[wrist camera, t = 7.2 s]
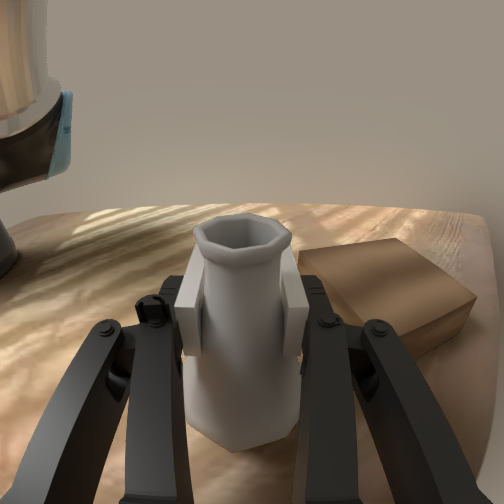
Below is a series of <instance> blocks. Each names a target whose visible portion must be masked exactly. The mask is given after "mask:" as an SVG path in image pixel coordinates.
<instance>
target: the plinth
mask: <svg viewBox="0 0 504 504" xmlns="http://www.w3.org/2000/svg"><path fill="white" fill-rule="evenodd" d="M298 271H299V274H300V275H316V276H317V277H318V278H319V279H320V280H321V281H322V284H323V286H324V289H325V291H326V294H327V296H328V299H329V301H330V304H331V306H332V309H333V311H334V313H336V314H338V315H339V316H340V317H341V318H342V319H343V321H344V323H346V324H349V325H353V326H360V327H364V324H365V323H366V322H367V321H368V320H371V319H380V320H384V321H386V322H387V323H389V324H390V325H391V326H392V327H393V328H394V330H395V332H396V333H397V335H398V336H399V338H400V339H401V341H402V343H403V344H404V346H405V347H406V349H407V351H408V352H409V354H410V355H411V357H412V359H413V360H414V359H415V358H417V357H419V356H421V355H423V354H425V353H426V352H428V351H430V350H432V349H433V348H435V347H437V346H439V345H440V344H442V343H444V342H445V341H447V340H448V339H450V338H452V337H453V336H455V335H456V334H458V333H459V332H460V331H461V329H462V327H463V325H464V323H465V321H466V319H467V317H468V315H469V313H470V311H471V309H472V307H473V305H474V303H475V301H476V298H477V296H476V295H474V294H473V293H472V292H471V291H469V290H468V289H467V288H466V287H464V286H463V285H462V284H460V283H459V282H458V281H456V280H455V279H454V278H452V277H451V276H450V275H448V274H447V273H446V272H444V271H443V270H442V269H440V268H439V267H438V266H436V265H435V264H433V263H432V262H431V261H429V260H428V259H426V258H425V257H423V256H422V255H421V254H419V253H418V252H416V251H415V250H413V249H412V248H410V247H409V246H407V245H406V244H404V243H403V242H401V241H400V240H398V239H397V238H390V239H383V240H376V241H369V242H362V243H354V244H347V245H340V246H332V247H325V248H318V249H310V250H303V251H299V258H298Z"/></svg>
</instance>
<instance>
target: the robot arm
mask: <svg viewBox="0 0 504 504" xmlns="http://www.w3.org/2000/svg"><path fill="white" fill-rule="evenodd" d="M47 3H48V0H0V193H2V192H6V191H9V190H11V189H15V188H18V187H21V186H24V185H28V184H31V183H34V182H38V181H42V180H47V179H48V178H49V177H52V176H55V175H58V174H61V173H63V172H65V171H66V170H67V169H68V167H69V165H70V161H71V118H72V100H73V94H72V92H71V91H62V92H61V86H60V82H59V80H58V79H57V78H56V77H54V76H52V75H50V74H48V69H47V51H46V21H47ZM17 257H18V253H17V250H16V247H15V243H14V241H13V239H12V238H11V237H10V236H9V234H8V232H7V230H6V229H5V227H4V225H3V223H2V221H1V220H0V277H2V276H3V275H4V274H5V273H6V272H7V271H8V270H9V269H10V268H11V267H12V266H13V264H14V263H15V261H16V259H17ZM204 283H205V268H204V257H203V256H202V255H201V252H200V250H199V247H198V245H197V242H196V244H195V246H194V249H193V252H192V255H191V258H190V260H189V263H188V266H187V269H186V272H185V275H184V276H172V275H170V276H169V277H168V278H167V279H166V280H165V281H164V282H163V284H162V287H161V289H160V292H159V295H156V294H153V295H147V296H145V297H143V298H141V299H140V300H138V301H137V303H136V305H135V308H136V312H137V315H138V318H139V321H140V324H137V325H133V326H128V327H122V328H121V325H120V323H119V322H118V321H116V320H113V319H106V320H103V321H100V322H99V323H97V324H96V325H95V326H94V327H93V328H92V330H91V331H90V333H89V334H88V336H87V337H86V339H85V341H84V342H83V344H82V345H81V347H80V349H79V350H78V352H77V353H76V355H75V357H74V358H73V360H72V362H71V363H70V365H69V367H68V369H67V370H66V372H65V374H64V376H63V377H62V379H61V381H60V383H59V384H58V386H57V388H56V390H55V392H54V394H53V395H52V397H51V399H50V401H49V403H48V405H47V407H46V409H45V411H44V413H43V415H42V417H41V419H40V421H39V423H38V425H37V427H36V429H35V431H34V433H33V435H32V438H31V440H30V442H29V444H28V447H27V449H26V451H25V454H24V456H23V458H22V461H21V463H20V466H19V468H18V471H17V474H16V476H15V479H14V482H13V485H12V487H11V488H10V489H9V490H8V492H7V493H6V494H5V495H4V496H3V497H2V498H1V499H0V504H93V501H94V498H95V494H96V491H97V487H98V484H99V481H100V478H101V474H102V471H103V468H104V465H105V462H106V459H107V456H108V453H109V450H110V447H111V444H112V441H113V438H114V435H115V433H116V430H117V427H118V424H119V422H120V419H121V416H122V413H123V411H124V408H125V405H126V403H127V400H128V398H129V405H128V416H127V431H126V452H125V494H124V497H123V498H122V499H121V500H120V501H119V504H194V499H193V492H192V484H191V476H190V467H189V458H188V447H187V436H186V422H185V406H184V386H183V363H182V359H181V354H182V349H183V351H184V355H185V356H201V331H202V300H203V291H204ZM279 284H280V291H281V298H282V306H283V313H284V330H283V357H287V356H300V355H301V350H302V351H303V361H302V365H301V370H300V374H299V375H301V393H300V411H299V426H298V439H297V451H296V462H295V472H294V481H293V490H292V498H291V504H363V502H362V501H361V500H360V499H359V496H358V462H357V438H356V422H355V409H354V398H353V388H354V391H355V393H356V396H357V398H358V401H359V403H360V406H361V408H362V411H363V414H364V416H365V419H366V421H367V424H368V427H369V429H370V432H371V435H372V438H373V440H374V443H375V446H376V449H377V451H378V454H379V457H380V460H381V463H382V466H383V468H384V471H385V474H386V477H387V480H388V483H389V486H390V489H391V492H392V495H393V498H394V502H395V504H493V503H492V502H491V501H490V500H489V499H488V498H487V497H486V496H485V495H484V494H483V493H482V492H481V491H480V490H479V489H478V487H477V484H476V482H475V479H474V477H473V474H472V472H471V470H470V467H469V465H468V463H467V460H466V458H465V456H464V454H463V452H462V449H461V447H460V445H459V443H458V441H457V439H456V437H455V435H454V433H453V431H452V429H451V427H450V425H449V423H448V421H447V419H446V417H445V415H444V413H443V411H442V409H441V408H440V406H439V404H438V402H437V400H436V398H435V397H434V395H433V393H432V391H431V389H430V388H429V386H428V384H427V382H426V381H425V379H424V377H423V375H422V374H421V372H420V370H419V369H418V367H417V365H416V364H415V362H414V360H413V359H412V357H411V355H410V354H409V352H408V351H407V349H406V347H405V346H404V344H403V343H402V341H401V339H400V338H399V336H398V335H397V333H396V332H395V330H394V328H393V327H392V326H391V325H390V324H389V323H387V322H386V321H384V320H380V319H371V320H368V321H367V322H366V323H365V324H364V327H360V326H353V325H349V324H346V323H344V321H343V319H342V318H341V317H340V316H339V315H338V314H336V313H334V311H333V309H332V306H331V304H330V301H329V299H328V296H327V294H326V291H325V289H324V286H323V284H322V281H321V280H320V279H319V278H318V277H317V276H316V275H300V274H299V271H298V268H297V264H296V261H295V258H294V255H293V252H292V248H291V245H289V246H288V247H287V248H286V249H285V250H284V251H283V252H282V255H281V264H280V282H279ZM352 385H353V387H352Z"/></svg>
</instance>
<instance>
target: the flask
mask: <svg viewBox="0 0 504 504" xmlns="http://www.w3.org/2000/svg"><path fill="white" fill-rule="evenodd" d="M193 233H194V236H195V239H196V242H197V245H198V247H199V250H200V252H201V255H202V256H203V257H204V268H205V283H204V291H203V300H202V331H201V356H187V358H186V361H185V363H184V366H183V386H184V406H185V416H186V420H187V424H189V425H190V426H191V427H193V428H194V429H196V430H197V431H199V432H200V433H201V434H203V435H204V436H206V437H207V438H209V439H210V440H212V441H214V442H215V443H217V444H218V445H220V446H221V447H223V448H225V449H226V450H228V451H230V452H231V453H235V452H239V451H243V450H246V449H250V448H253V447H257V446H260V445H263V444H266V443H269V442H273V441H276V440H279V439H281V438H284V437H287V436H288V435H289V433H290V432H291V430H292V429H293V427H294V426H295V424H296V423H297V421H298V420H299V411H300V393H301V375H299V374H300V370H301V367H300V364H299V362H298V359H297V356H287V357H283V330H284V313H283V306H282V298H281V291H280V284H279V282H280V264H281V255H282V252H283V251H284V250H285V249H286V248H287V247H288V246H289V245H290V242H291V239H292V233H291V232H290V231H289V230H288V229H286V228H285V227H284V226H283V225H282V224H280V223H279V222H278V221H277V220H275V219H271V218H267V217H262V216H258V215H254V214H250V213H244V214H235V215H227V216H218V217H215V218H213V219H210V220H208V221H206V222H204V223H202V224H200V225H197V226H195V227H193Z"/></svg>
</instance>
